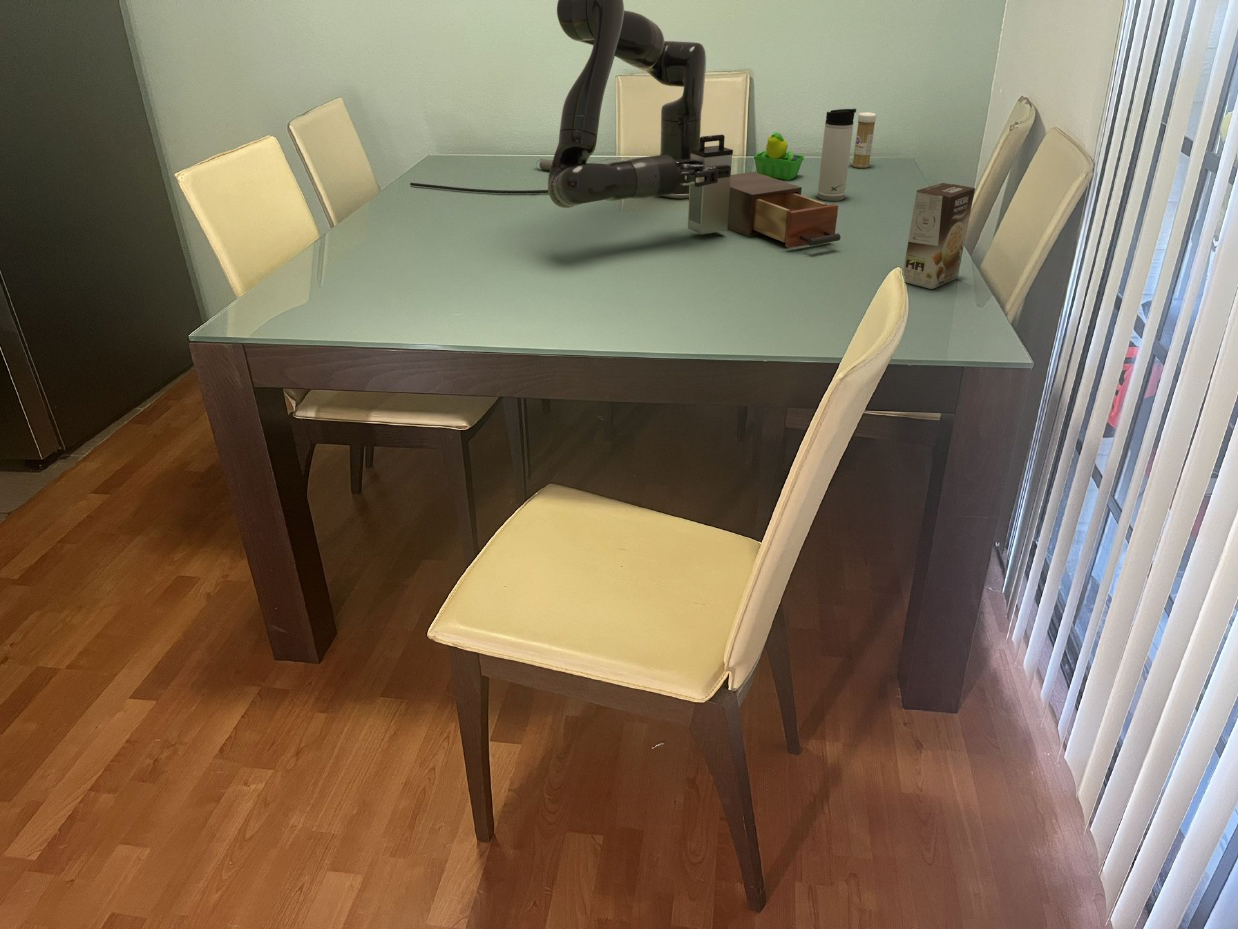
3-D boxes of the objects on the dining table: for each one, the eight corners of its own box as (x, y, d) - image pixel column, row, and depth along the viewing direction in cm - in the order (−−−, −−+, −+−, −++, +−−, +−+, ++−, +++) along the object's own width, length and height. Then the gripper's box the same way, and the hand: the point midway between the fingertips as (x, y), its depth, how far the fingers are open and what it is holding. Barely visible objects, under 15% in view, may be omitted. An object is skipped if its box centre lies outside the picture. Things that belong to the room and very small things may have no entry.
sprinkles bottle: (848, 166, 241) (854, 113, 234) (859, 163, 243) (866, 111, 237) (861, 169, 238) (868, 115, 231) (873, 166, 240) (880, 113, 234)
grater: (728, 230, 184) (734, 136, 175) (700, 234, 181) (705, 139, 172) (713, 224, 188) (719, 131, 179) (686, 228, 185) (690, 134, 176)
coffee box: (933, 290, 156) (950, 196, 148) (900, 281, 160) (914, 190, 152) (958, 278, 162) (976, 187, 154) (926, 270, 166) (941, 181, 158)
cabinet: (797, 228, 190) (801, 187, 185) (749, 237, 184) (752, 194, 180) (751, 210, 202) (754, 171, 198) (704, 218, 197) (706, 178, 193)
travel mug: (838, 202, 208) (849, 111, 198) (812, 198, 211) (822, 108, 201) (850, 197, 212) (861, 107, 202) (824, 193, 216) (834, 104, 205)
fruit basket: (803, 176, 231) (808, 129, 226) (790, 182, 225) (794, 135, 219) (763, 170, 237) (766, 125, 231) (748, 177, 230) (751, 131, 225)
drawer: (848, 244, 177) (852, 209, 173) (802, 253, 172) (805, 217, 168) (786, 221, 191) (789, 188, 188) (742, 228, 187) (744, 195, 183)
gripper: (668, 163, 166) (744, 155, 173) (630, 150, 176) (702, 142, 184) (667, 205, 169) (741, 194, 176) (630, 189, 180) (701, 180, 187)
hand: (721, 168), depth 180 cm, fingers closed on grater, 5 cm apart
